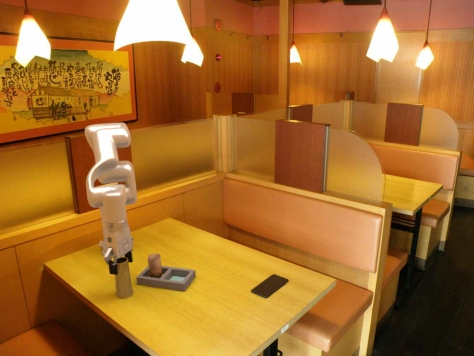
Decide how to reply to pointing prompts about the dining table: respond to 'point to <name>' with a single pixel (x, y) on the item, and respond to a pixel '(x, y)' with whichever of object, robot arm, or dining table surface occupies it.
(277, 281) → the smartphone
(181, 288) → the slot rack
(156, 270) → the walnut peg
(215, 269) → the dining table surface
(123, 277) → the vase
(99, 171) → the robot arm
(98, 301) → the dining table surface
